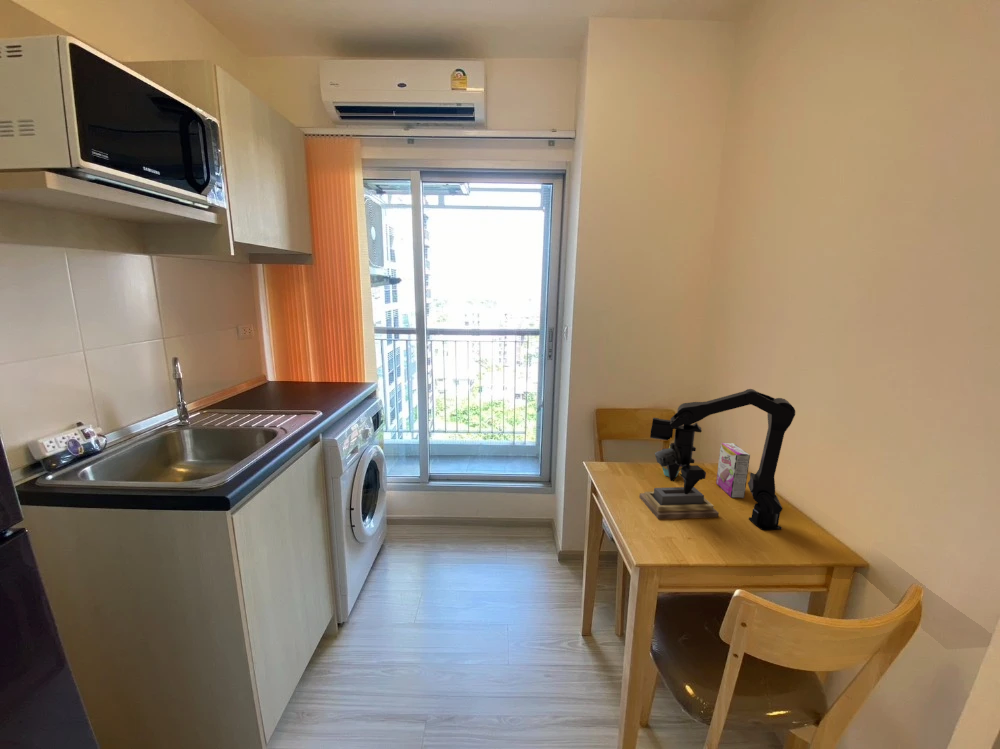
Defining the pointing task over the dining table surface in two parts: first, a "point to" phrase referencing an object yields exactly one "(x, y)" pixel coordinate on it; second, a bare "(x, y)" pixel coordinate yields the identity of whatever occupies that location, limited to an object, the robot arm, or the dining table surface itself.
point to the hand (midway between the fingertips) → (678, 487)
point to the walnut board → (678, 508)
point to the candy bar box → (732, 470)
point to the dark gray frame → (677, 496)
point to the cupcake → (667, 470)
